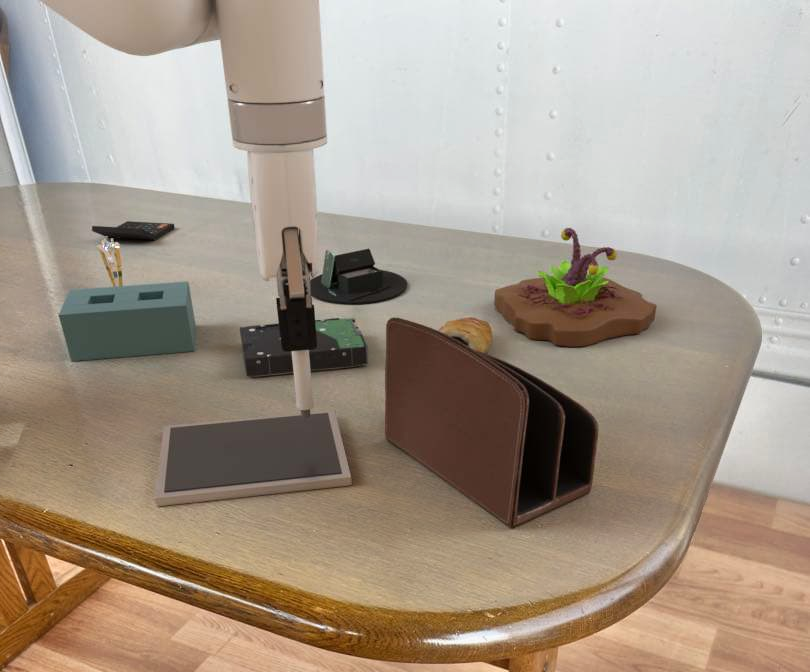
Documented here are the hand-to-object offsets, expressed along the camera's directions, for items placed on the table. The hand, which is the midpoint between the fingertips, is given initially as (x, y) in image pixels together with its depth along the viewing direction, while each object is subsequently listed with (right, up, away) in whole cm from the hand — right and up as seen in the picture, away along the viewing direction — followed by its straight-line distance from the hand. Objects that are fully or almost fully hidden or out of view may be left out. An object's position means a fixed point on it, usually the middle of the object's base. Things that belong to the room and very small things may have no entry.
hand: (298, 343), depth 75 cm
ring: (-33, +18, +45) cm, 58 cm away
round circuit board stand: (+3, +20, +47) cm, 51 cm away
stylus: (0, -6, +4) cm, 8 cm away
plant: (+32, +12, +36) cm, 50 cm away
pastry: (+17, +6, +27) cm, 33 cm away
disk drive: (-3, +5, +26) cm, 27 cm away
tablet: (-5, -10, +6) cm, 13 cm away
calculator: (-38, +36, +70) cm, 87 cm away
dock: (-25, +7, +30) cm, 40 cm away
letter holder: (+17, -11, +4) cm, 21 cm away
